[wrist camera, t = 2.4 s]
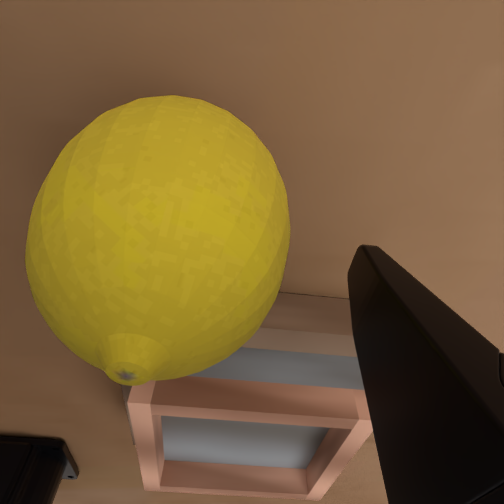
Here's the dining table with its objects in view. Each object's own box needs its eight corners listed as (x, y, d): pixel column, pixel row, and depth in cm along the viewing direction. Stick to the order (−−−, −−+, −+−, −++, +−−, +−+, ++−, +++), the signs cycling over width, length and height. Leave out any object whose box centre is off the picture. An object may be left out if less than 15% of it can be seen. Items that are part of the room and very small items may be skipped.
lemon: (310, 100, 11) (382, 308, 4) (247, 240, 14) (239, 468, 8) (118, 25, 9) (-143, 165, 3) (101, 197, 13) (-45, 424, 7)
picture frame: (325, 425, 24) (338, 509, 20) (141, 411, 23) (120, 497, 19) (394, 303, 16) (433, 405, 12) (121, 277, 15) (78, 377, 12)
